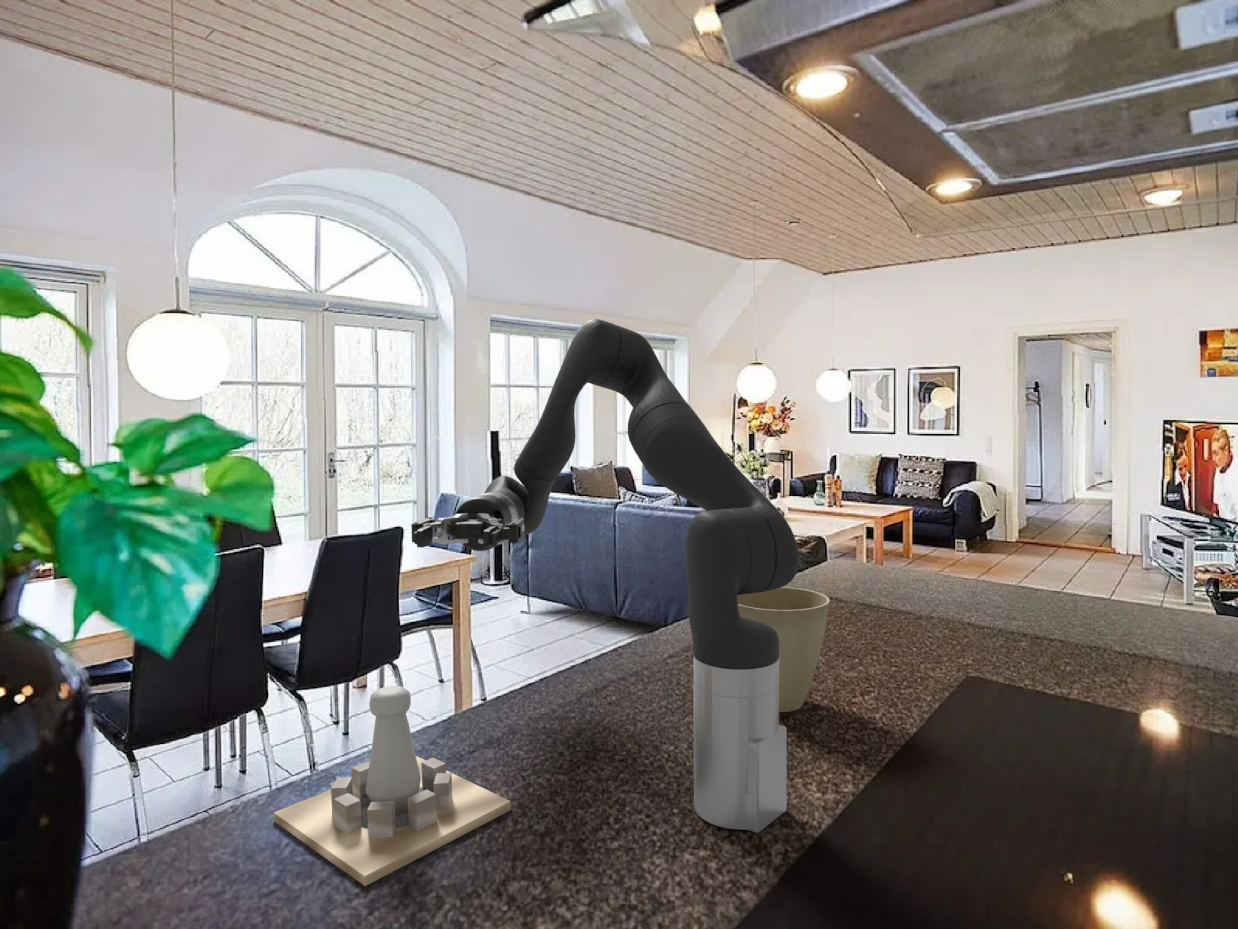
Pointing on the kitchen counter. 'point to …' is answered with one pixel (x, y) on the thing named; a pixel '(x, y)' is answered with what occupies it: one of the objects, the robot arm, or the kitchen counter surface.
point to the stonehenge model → (389, 820)
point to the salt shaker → (392, 750)
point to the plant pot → (791, 635)
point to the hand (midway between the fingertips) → (452, 539)
